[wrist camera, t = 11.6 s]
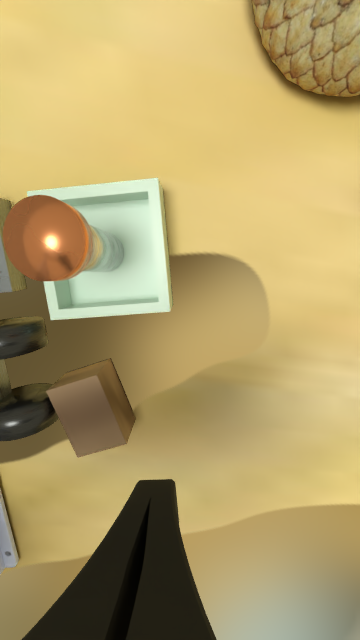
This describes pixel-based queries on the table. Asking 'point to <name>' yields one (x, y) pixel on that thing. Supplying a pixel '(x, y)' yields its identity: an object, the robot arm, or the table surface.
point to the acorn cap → (313, 42)
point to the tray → (139, 252)
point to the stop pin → (57, 241)
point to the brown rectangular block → (93, 408)
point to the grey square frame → (3, 272)
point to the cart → (30, 400)
